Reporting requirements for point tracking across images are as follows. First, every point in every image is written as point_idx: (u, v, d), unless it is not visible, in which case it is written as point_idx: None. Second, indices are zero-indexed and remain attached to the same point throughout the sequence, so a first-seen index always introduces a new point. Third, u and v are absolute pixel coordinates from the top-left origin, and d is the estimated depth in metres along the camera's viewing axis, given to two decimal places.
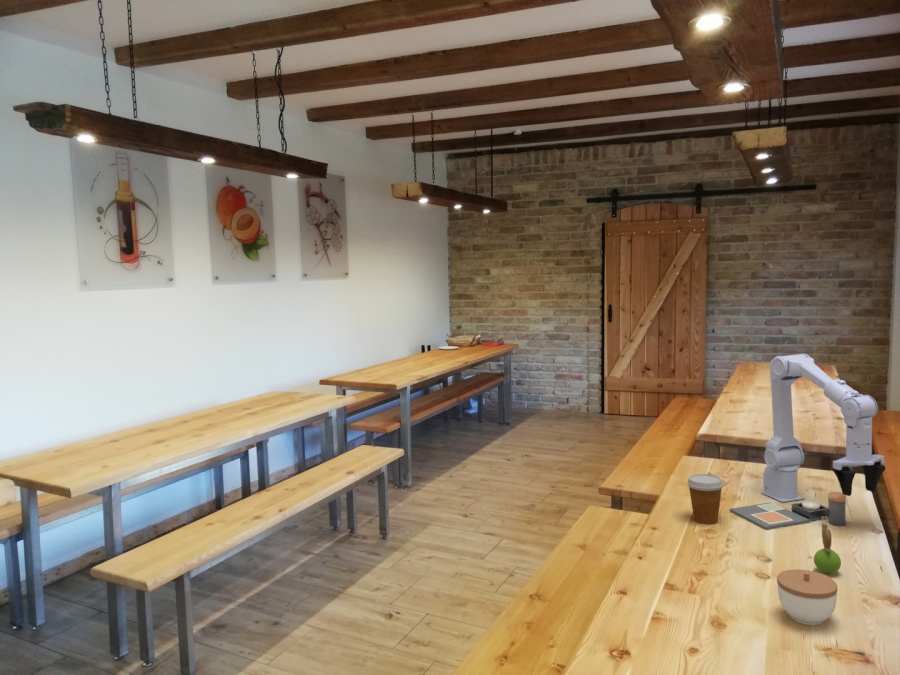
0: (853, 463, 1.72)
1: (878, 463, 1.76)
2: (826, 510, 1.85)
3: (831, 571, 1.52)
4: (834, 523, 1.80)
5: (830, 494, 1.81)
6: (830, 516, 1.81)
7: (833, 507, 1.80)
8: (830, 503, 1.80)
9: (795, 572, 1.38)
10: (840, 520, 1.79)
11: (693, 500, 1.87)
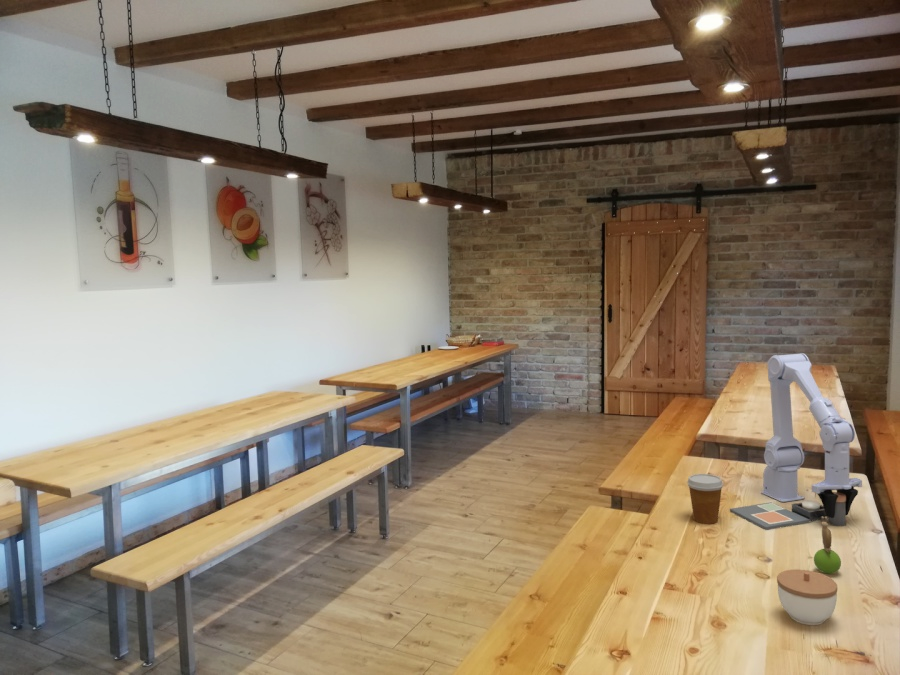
0: (831, 487, 1.78)
1: None
2: None
3: (831, 571, 1.52)
4: (834, 523, 1.80)
5: None
6: None
7: None
8: None
9: (795, 572, 1.38)
10: (840, 520, 1.79)
11: (693, 500, 1.87)
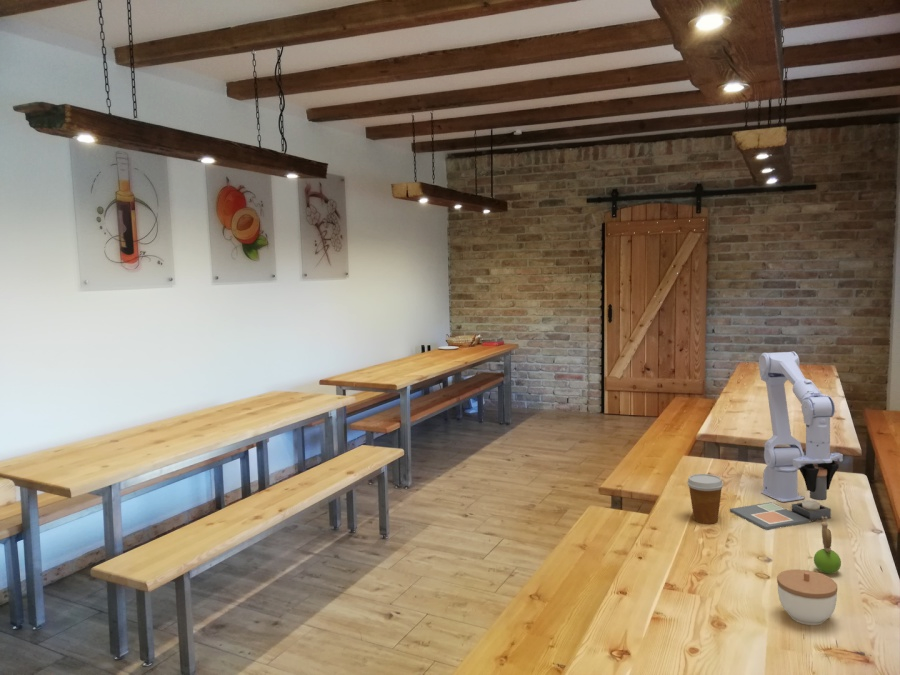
0: (812, 461, 1.78)
1: None
2: (826, 510, 1.85)
3: (831, 571, 1.52)
4: (815, 497, 1.81)
5: None
6: None
7: None
8: None
9: (795, 572, 1.38)
10: (821, 494, 1.80)
11: (693, 500, 1.87)
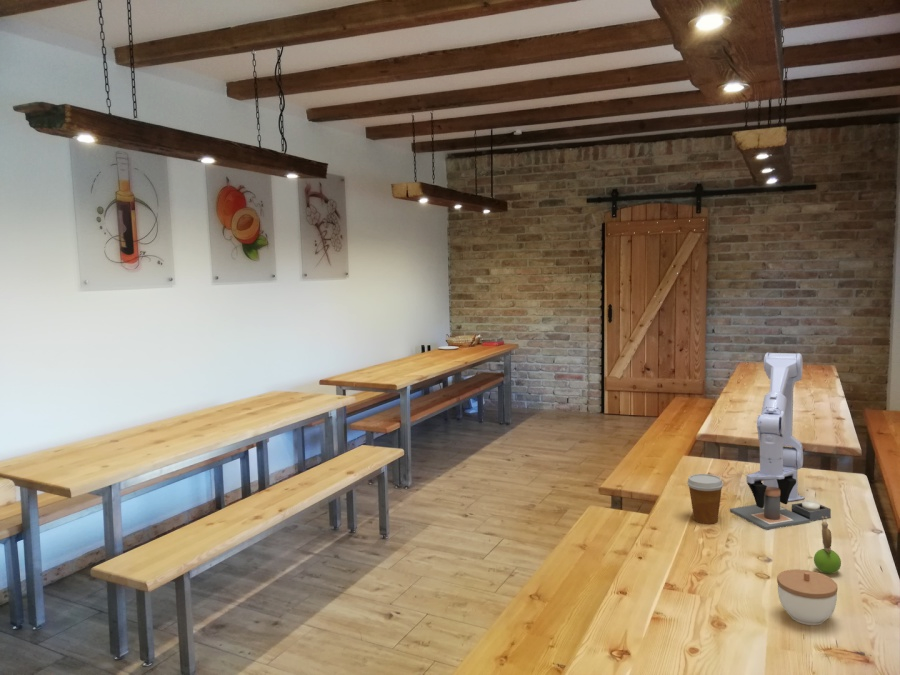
0: (765, 477, 1.82)
1: (790, 477, 1.85)
2: (826, 510, 1.85)
3: (831, 571, 1.52)
4: (769, 517, 1.84)
5: None
6: (765, 510, 1.85)
7: (768, 501, 1.84)
8: (765, 497, 1.85)
9: (795, 571, 1.38)
10: (774, 514, 1.83)
11: (693, 500, 1.87)
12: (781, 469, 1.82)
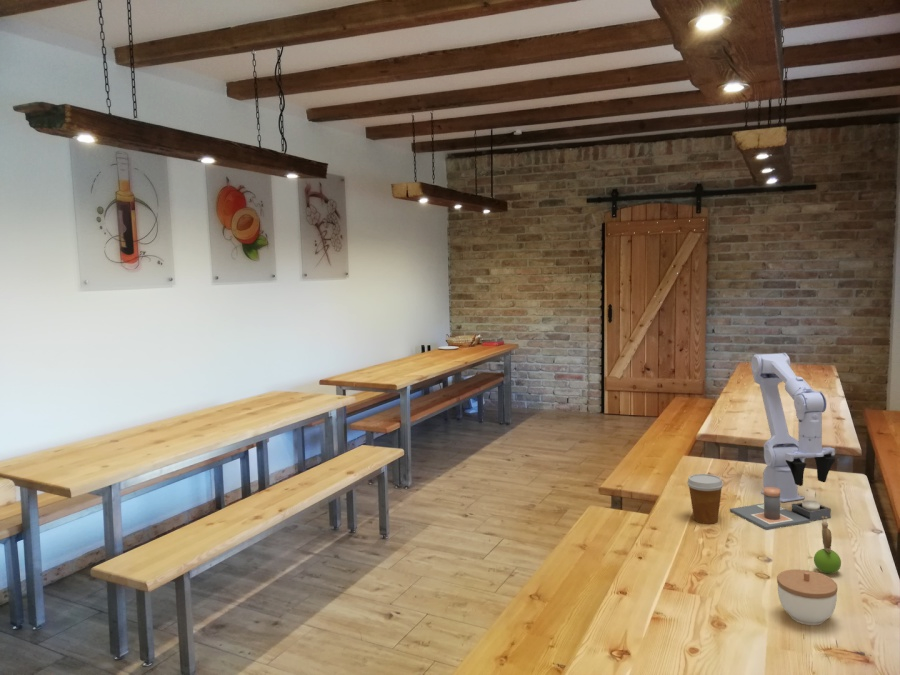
0: (804, 455, 1.83)
1: (829, 455, 1.86)
2: (826, 510, 1.85)
3: (831, 571, 1.52)
4: (769, 517, 1.84)
5: (765, 489, 1.85)
6: (765, 510, 1.85)
7: (768, 501, 1.84)
8: (765, 497, 1.85)
9: (795, 572, 1.38)
10: (774, 514, 1.83)
11: (693, 500, 1.87)
12: (820, 447, 1.83)
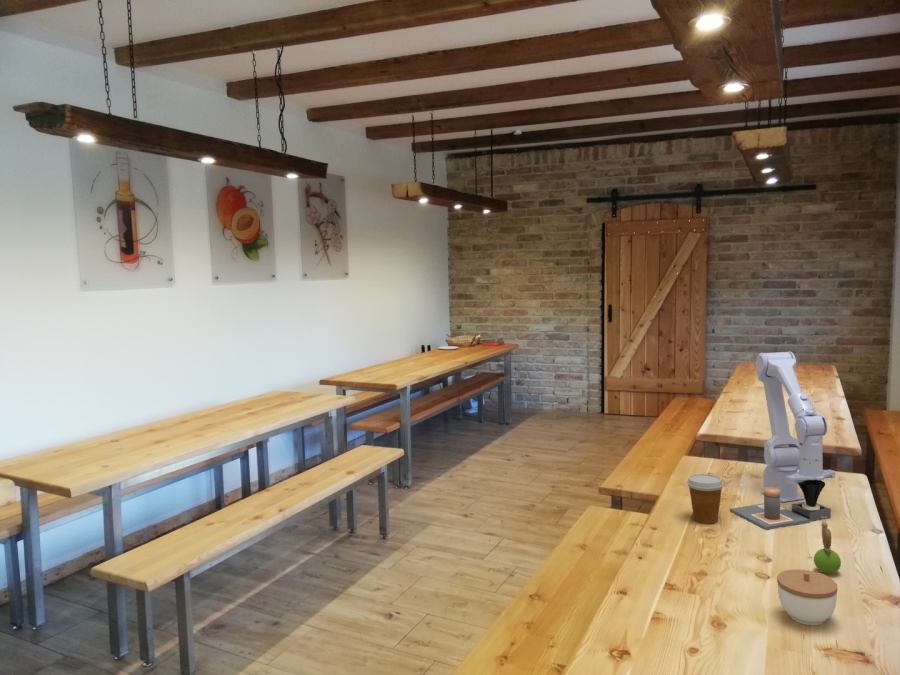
0: (805, 478, 1.84)
1: None
2: (826, 510, 1.85)
3: (831, 571, 1.52)
4: (769, 517, 1.84)
5: (765, 489, 1.85)
6: (765, 510, 1.85)
7: (768, 501, 1.84)
8: (765, 497, 1.85)
9: (795, 572, 1.38)
10: (774, 514, 1.83)
11: (693, 500, 1.87)
12: (821, 470, 1.84)
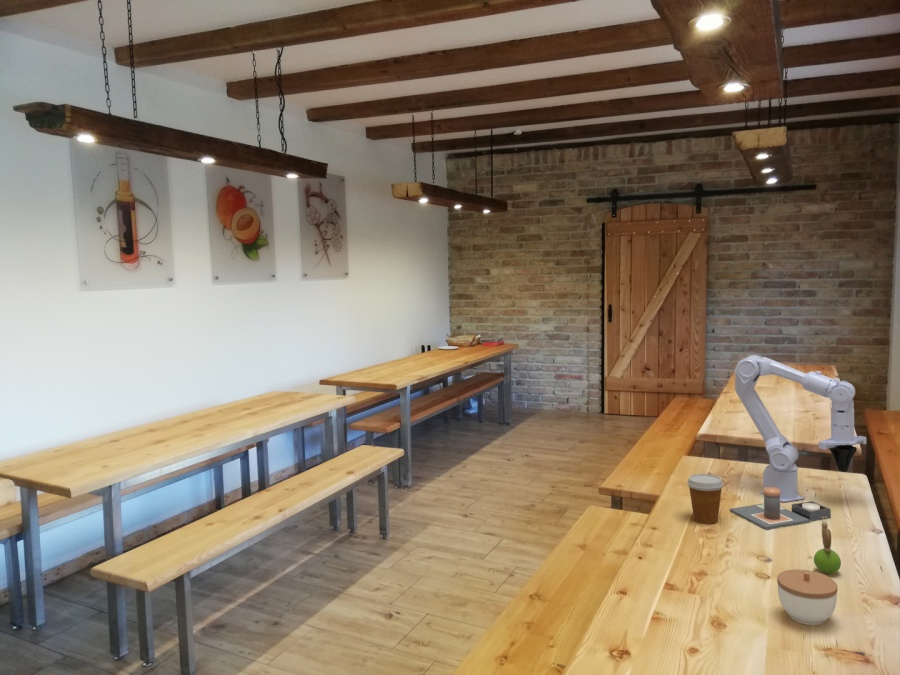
0: (837, 443, 1.89)
1: None
2: (826, 510, 1.85)
3: (831, 571, 1.52)
4: (769, 517, 1.84)
5: (765, 489, 1.85)
6: (765, 510, 1.85)
7: (768, 501, 1.84)
8: (765, 497, 1.85)
9: (795, 571, 1.38)
10: (774, 514, 1.83)
11: (693, 500, 1.87)
12: (853, 436, 1.89)
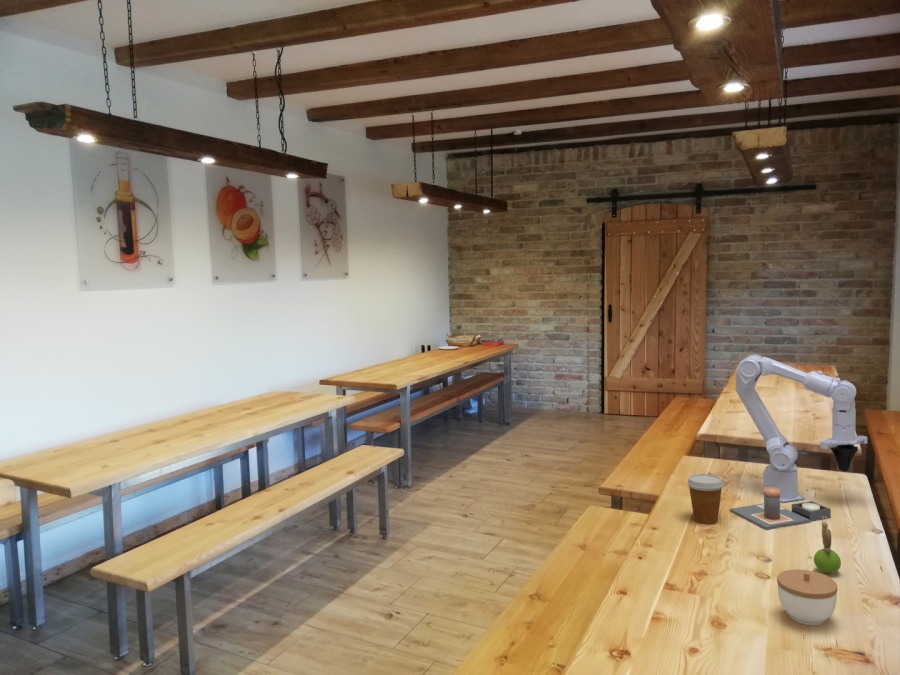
0: (838, 443, 1.89)
1: None
2: (826, 510, 1.85)
3: (831, 571, 1.52)
4: (769, 517, 1.84)
5: (765, 489, 1.85)
6: (765, 510, 1.85)
7: (768, 501, 1.84)
8: (765, 497, 1.85)
9: (795, 572, 1.38)
10: (774, 514, 1.83)
11: (693, 500, 1.87)
12: (854, 435, 1.90)
